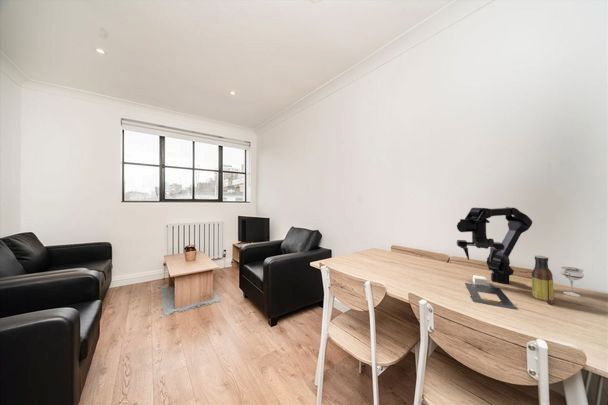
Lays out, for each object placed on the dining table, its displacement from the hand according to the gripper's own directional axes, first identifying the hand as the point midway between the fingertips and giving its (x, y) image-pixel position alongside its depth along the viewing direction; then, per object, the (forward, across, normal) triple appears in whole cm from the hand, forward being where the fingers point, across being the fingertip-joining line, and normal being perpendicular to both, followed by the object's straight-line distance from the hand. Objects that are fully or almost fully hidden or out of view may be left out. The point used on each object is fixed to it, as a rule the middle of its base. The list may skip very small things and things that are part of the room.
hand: (479, 260), depth 110 cm
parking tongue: (+13, 0, 0) cm, 13 cm away
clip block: (+12, 0, 0) cm, 12 cm away
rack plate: (+13, 0, -13) cm, 18 cm away
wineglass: (+14, +35, +6) cm, 38 cm away
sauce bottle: (+13, +20, -9) cm, 26 cm away
